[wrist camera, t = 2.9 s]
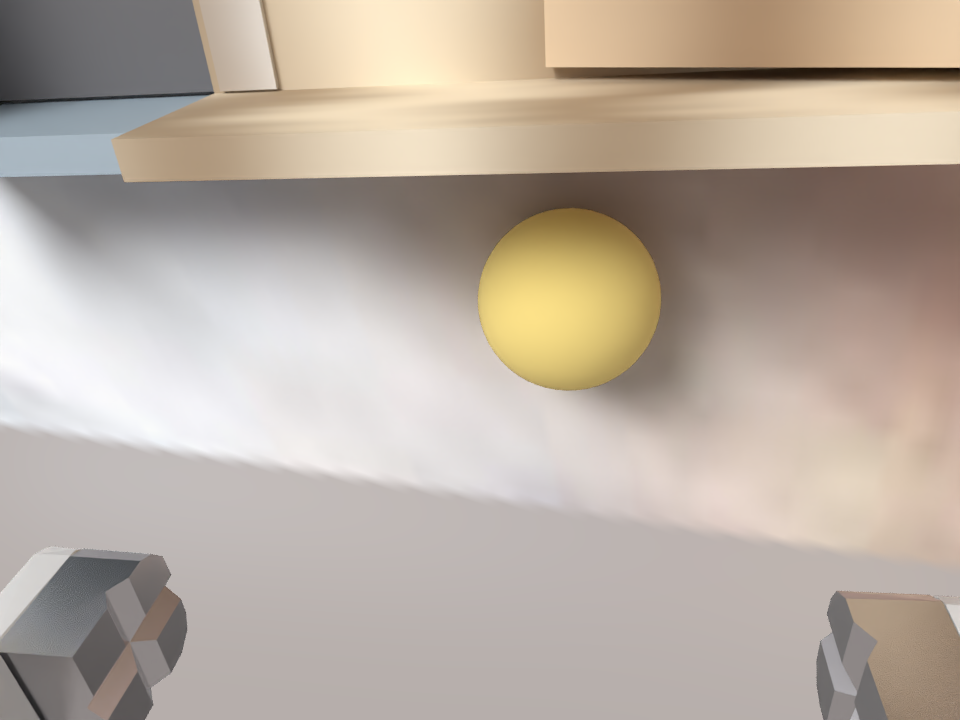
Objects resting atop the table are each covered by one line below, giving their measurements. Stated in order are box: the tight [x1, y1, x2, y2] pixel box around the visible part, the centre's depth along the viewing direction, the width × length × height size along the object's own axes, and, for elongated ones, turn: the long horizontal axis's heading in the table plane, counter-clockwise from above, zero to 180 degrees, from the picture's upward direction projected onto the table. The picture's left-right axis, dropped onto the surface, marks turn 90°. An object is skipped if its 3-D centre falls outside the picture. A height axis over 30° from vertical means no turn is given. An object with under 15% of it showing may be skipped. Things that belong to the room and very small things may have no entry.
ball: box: [478, 208, 661, 390], centre depth 17 cm, size 4×4×4 cm
